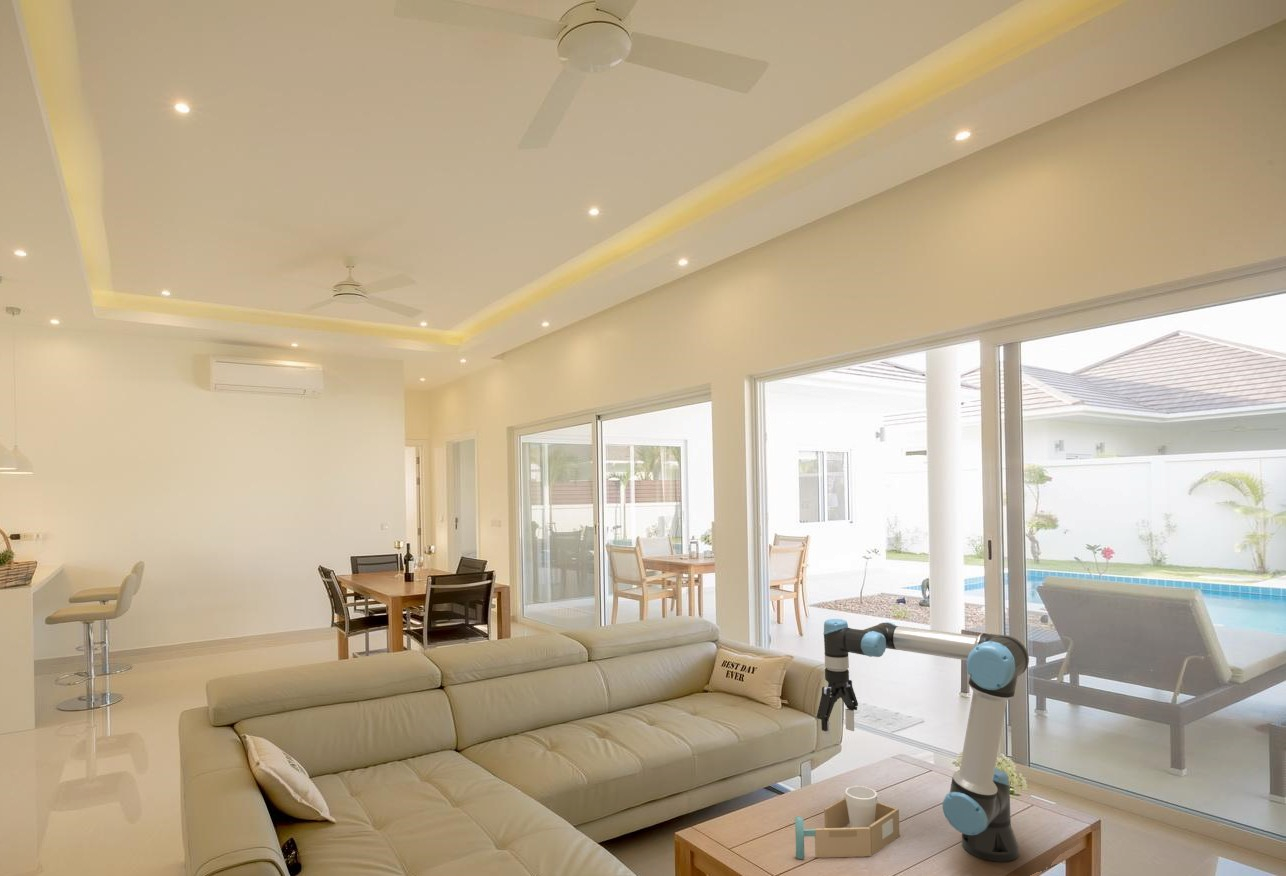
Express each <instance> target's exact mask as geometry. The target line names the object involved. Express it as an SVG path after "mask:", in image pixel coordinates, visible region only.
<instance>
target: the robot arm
mask: <svg viewBox="0 0 1286 876" xmlns="http://www.w3.org/2000/svg"><path fill="white" fill-rule="evenodd" d="M822 635H823V643H824V667H825V669H824V680H825V681H826V682H827V684H828V685H827V687H826V686H822V687H821V695H820V696H821V697H820V700H819V704H818V708H817V714H816V719H818V720H820V721H821V723H820V724H821V740H822V741H825V742H828V743H831V742H832V738H831V737H832V734H831V733H832V732H831V719H830V716H831V713H832V711H833V708H834V707H835V703H836V702H837V701H838V699H840V698H841V701H842V702H843V703H844V705H845V707H846V708H845V710H844V711H845V715H844V716H845V730H847V731H851V732H854V731H855V711H857V710H858V706H859V702H858V699H857V697H856V694H855V693H856V692H855V691H854V687H853V680H852V679H851V680H850V670H849V669H850V668H849V666H850V662H849V660H850V659H849V653H852V654H857V655H861V656H862V655H863V656H866V657H871V658H872V657H874V658H880V657H882V656H883V655H884V654H885V652H886V649H888V650H889V649H890V650H895V651H896V650H897V651H903V652H909V653H910V652H911V653H915V654H917V653H918V654H923V655H929V656H937V657H941V658H942V657H943V658H949V659H954V660H955V659H957V660H961V661H966V670H967V674H968V675H969V677H968V685H969V687H970V689H971V690H972V697H971V702H970V707H969V714H968V719H967V724H966V725H967V726H966V731H965V737H964V743H963V748H962V754H961V760H960V766H959V770H956V771H954V772H953V773H952V777H951V784H950V790H949V793H947V794H946V795H945V796H944V799H943V801H942V812H943V814H944V816H945V818H946V820H947V821H948V823H949V824H950V825H951V827H952V828H954V830H956V831H957V832H959V833H962V834H961V846H962V848H963V849H964V850H965V851H966V852H967V853H969V854H971V855H972V856H974V857H976V858H978V859H979V858H980V859H983V860H984V861H985V860H986V861H990V862H999V863H1005V862H1011V861H1014V860H1016V859H1017V858H1018V857H1019V855H1020V853H1019V852H1020V851H1019V843H1018V841H1017V838H1016V835H1015V833H1014V829H1013V827H1012V822H1011V821H1012V820H1011V819H1012V818H1011V797H1010V796H1011V793H1010V791H1011V790H1010V786H1011V784H1010V779H1009V775H1008V773H1006V772H1005V771H1003V770H1002V769H999V768H997V767H996V765H997V758H998V752H999V747H1000V744H1001V743H1000V742H1001V736H1002V731H1003V724H1004V718H1005V713H1006V708H1007V701H1008V700H1011V699H1012V698H1014V697H1015V694H1016V693H1015V691H1016V686H1017V682H1018V681H1017V680H1018V678H1019V677H1020V676H1021V675H1022V674H1024V673H1025V672H1026V671H1027V669H1028V666H1029V663H1030V658H1029V657H1030V656H1029V652H1028V650H1027V648H1026V646H1025V645H1024V644H1023V643H1022V642H1021V641H1020V640H1019V639H1018V638H1015V637H1014V636H1010V635H1006V634H996V633H985V632H984V633H983V632H982V633H980V634H979V635H974V634H966V633H956V632H949V631H940V630H933V629H927V628H924V629H923V628H916V627H908V626H900V625H896V624H895V623H893V622H890V621H887V622H886V621H885V622H881V623H878V624H876V625H874V626H871V627H867V628H864V629H858V628H857V629H856V628H851V627H849V626H848V622H847V620H845V619H841V618H840V619H839V618H830V619H826V620H825V621H824V623H823V633H822ZM829 719H830V720H829Z"/></svg>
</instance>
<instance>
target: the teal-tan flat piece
mask: <svg viewBox="0 0 1286 876" xmlns="http://www.w3.org/2000/svg"><path fill="white" fill-rule="evenodd" d="M794 822H795V823H794V824H795V825H794V826H795V828H794V830H795V834H794V835H795V858H797V859H798V860H804V859H805V837H814V850H815V851H814V852H815V853H814V854H815V855H814V856H815V858H847V857H848V858H851V857H855V858H856V857H857V858H858V857H872V855H871V838H870V828H869V827H858V828H850V827H842V828H825V827H823V828H813V829H811V828H809V829H805V825H804V818H803V816H796V817H794Z"/></svg>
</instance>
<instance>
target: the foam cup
mask: <svg viewBox="0 0 1286 876" xmlns="http://www.w3.org/2000/svg"><path fill="white" fill-rule="evenodd" d="M844 792H845V793H844V794H845V795H844V796H845V797H846V802H847V808H848V815H849V822H850V823H849V826H850V827H849V828H858V827H869V826H870V825H871V824H873V823H874V822H875V813H876V804H877V802H878V794H877V793H878V792H877V791H876V790H874V789H872V788H870V787H867V786H862V785H852V786H848V787H847V788H845V791H844Z"/></svg>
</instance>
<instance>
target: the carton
mask: <svg viewBox="0 0 1286 876" xmlns="http://www.w3.org/2000/svg"><path fill="white" fill-rule="evenodd" d="M823 810H824V813H823V819H824V820H823V821H824V828H844V827H845V826H847V825H848V824H850V822H849V815H848V808H847V802H846V797H842V798H841V799H839V800H837V801H836V802H834V803H832V804H829V806H827V807H825V808H823ZM869 828H870V838H871V856H873V855H874V854H876V853H877V852H879V851H880V850H882V849H883V848H885V847H886V846H888V845H889V844H890V843H892V842H893V841H895V840H896V839H898V838H899V837H900V835H901V834H900V809H898V808H896V807H893V806H890V805H888V804H885V803H882V802H879V801H877V804H876V813H875V822H874V823H873V824H871V825H870V826H869Z"/></svg>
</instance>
